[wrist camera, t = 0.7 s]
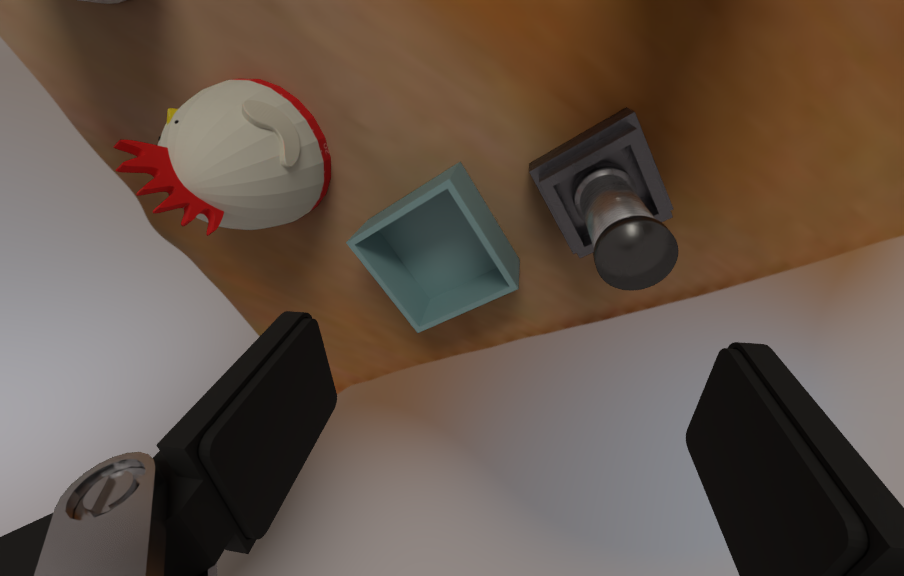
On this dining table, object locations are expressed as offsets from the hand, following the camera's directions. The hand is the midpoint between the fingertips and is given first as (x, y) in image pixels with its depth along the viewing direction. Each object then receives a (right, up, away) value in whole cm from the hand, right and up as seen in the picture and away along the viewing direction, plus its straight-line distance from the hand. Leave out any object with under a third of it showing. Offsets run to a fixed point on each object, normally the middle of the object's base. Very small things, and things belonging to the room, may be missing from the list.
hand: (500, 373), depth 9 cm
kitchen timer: (-20, +16, +31) cm, 40 cm away
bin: (-2, +7, +32) cm, 33 cm away
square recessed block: (+12, +12, +26) cm, 31 cm away
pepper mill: (+12, +11, +24) cm, 29 cm away
